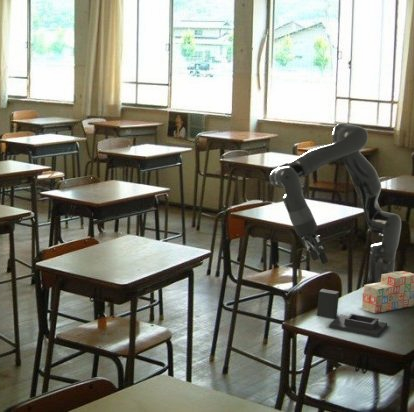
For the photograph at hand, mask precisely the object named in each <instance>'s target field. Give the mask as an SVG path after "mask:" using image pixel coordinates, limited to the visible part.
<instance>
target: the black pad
mask: <svg viewBox="0 0 414 412" xmlns="http://www.w3.org/2000/svg"><path fill="white" fill-rule="evenodd" d="M339 296H340V291H338V290H331V289H325V288H321V289H320V290H318V300H317V311H316V316H317V317H322V318H323V317H324V318H328V319H334V320H335V319H336V318H337V317H338V309H339V308H338V307H339V306H338V305H339Z"/></svg>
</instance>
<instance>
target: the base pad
mask: <svg viewBox="0 0 414 412" xmlns="http://www.w3.org/2000/svg"><path fill="white" fill-rule="evenodd" d="M387 327H388V322H383V321H380V319H379V318H377V317H371V316H366V315H361V314H357V313H349V314H348V315H347V314H343V313H342V314H339V315H337V316H336V317H335V318H334V320H333V321H332V322H330V323H329V325H328V328H329V329H334V330H337V331H338V330H339V331H343V332H348V333H354V334H359V335H364V336H368V337H373V338H378V337H379V336H380V335H381V334H382V333H383V331H384V330H385V329H386V328H387Z"/></svg>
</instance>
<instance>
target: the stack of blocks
mask: <svg viewBox="0 0 414 412" xmlns="http://www.w3.org/2000/svg"><path fill="white" fill-rule="evenodd" d="M409 307H414V273H412V272H408V271H404V270H400V271H398V270H397V271H394V272H392V273H386V274H382V276H381V282H379V283H373V284H368V285H367V284H364V285H363V293H362V303H361V309H362V310H363V311H364V310H365V311H367V312H370V313H373V314H378V313H384V312H388V311H389V312H390V311H394V310H399V309H404V308H409Z"/></svg>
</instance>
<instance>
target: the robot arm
mask: <svg viewBox="0 0 414 412" xmlns="http://www.w3.org/2000/svg"><path fill="white" fill-rule="evenodd" d="M331 136H332V137H331V138H332V142H333V143H332V144H331V143H330V144H327V145H324V146H320V147H317V148H313V149H310V150H308V151H307V152H305V153H303V154H302V155H300V156H298V157H296V158H295V159H292V160H291V161H288V162H286V163H284V164H282V165H279V166H278V167H276V168H274V169H273V170H272V171H271V173H270V175H269V182H270V184H271V185H272V186H273V187H275V188H278V189H284V191H285V194H284V196H283V197H282V202H283V204H284V206H285V210H286V211H287V213H288V217H289V219H290V222H291V224H292V227H293V229H294V231H295V233H296V235H297V236H298V237H300V240H301V242H302V245H303V247H304V249H305V250H306V251H307V252H308V253H309V255H310V258H311V260H312V261H317V260H320V263H321V264H322V265H325V264H328V263H329V259H328V256H327V254H326V252H327V248H326V246H325V244H324V242H323V240H322V237H321V235H318V234H316V233H315V232H316V231H317V230H318V224H317V222H316V220H315V217H314V215H313V213H312V211H311V208H310V207H309V206H308V204H307V201H306V199H305V196H304V194H303V188H302V182H301V178H303V177H306V176H309V175H310V174H312V173H313V172H316V171H317V170H319V169H320V168H322V167H324V166H325V165H328V164H331V163H332V162H335V161H337V160H340V159H342V161H343V163H344V165H345V168H346V170H347V173H348V174H349V177H350V180H351V182H352V184H353V187H354V189H355V192H356V195H357V196H358V199H359V201H360V204H361V207H362V210H363V213H364V217H365V221H366V225H367V228H368V229H369V231H370V232H371V233H372V234H374V235H376V236H382V238H381V239H382V240H381V242H377V243H373V244H371V245H370V250H369V258H368V259H369V260H368V270H367V280H366V281H367V282H366V285H368V284H373V283H379V282H381V276H382V274H386V273H392V272H395V266H396V255H397V250H398V247H399V243H400V237H401V231H402V218H401V217H400V215H399V214H397V213H392V212H388V211H384V210H382V208H381V207H380V204H379V201H378V200H379V196H380V194H381V191H382V183H381V179H380V177H379V175H378V172H377V170H376V168H375V167H374V166H373V165H372V163H371V162H370V161H369V159H368V160H367V158H366V157H365V156H364V155H363V154H362V153H361V150H363V149H364V148H365V147H366V145H367V143H368V141H369V134H368V131H367V130H366V128H364V127H362V126H359V125H355V124H352V123H345V122H343V123H341V122H340V123H338V124H337V125H335V127H334V128H333V131H332V134H331Z"/></svg>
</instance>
